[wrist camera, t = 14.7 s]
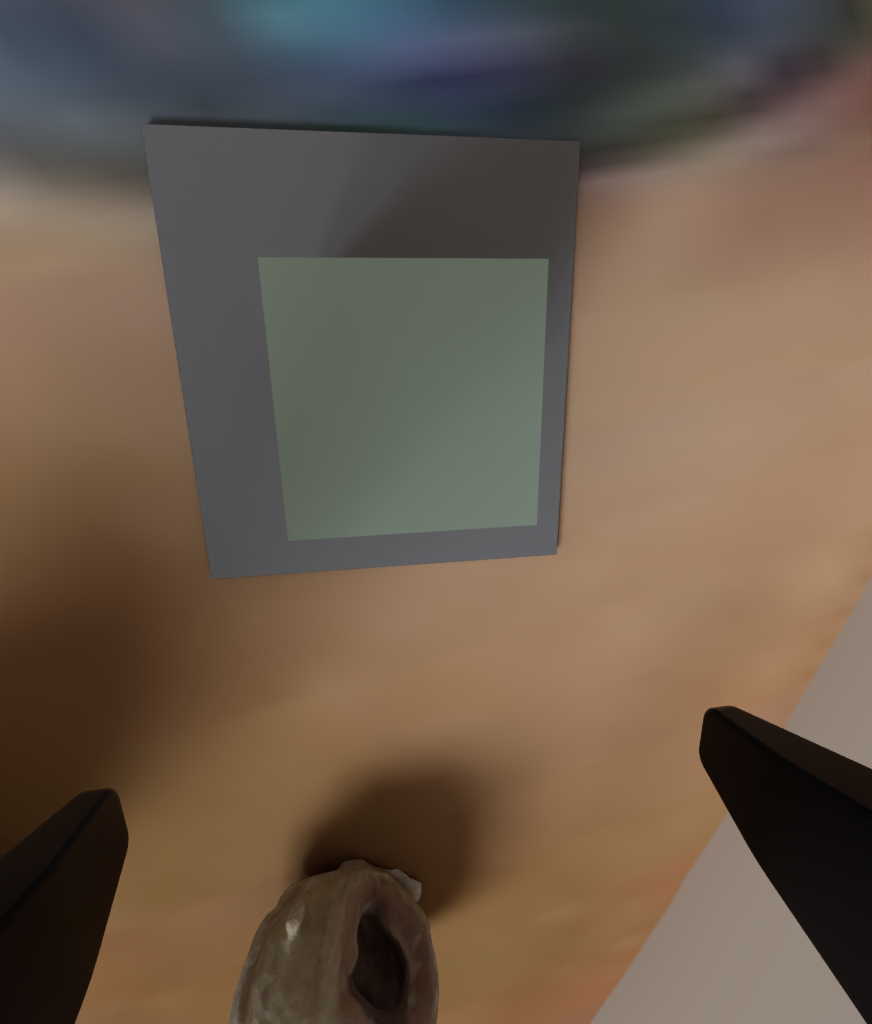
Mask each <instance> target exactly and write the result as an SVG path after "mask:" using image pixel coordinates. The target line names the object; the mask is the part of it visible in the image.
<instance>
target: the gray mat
mask: <svg viewBox="0 0 872 1024" xmlns="http://www.w3.org/2000/svg"><path fill="white" fill-rule="evenodd" d="M141 127H142V134H143V140H144V147H145V153H146V159H147V166H148V172H149V179H150V185H151V192H152V198H153V205H154V211H155V218H156V224H157V230H158V237H159V243H160V250H161V256H162V263H163V269H164V276H165V282H166V289H167V295H168V301H169V308H170V314H171V321H172V327H173V334H174V340H175V347H176V353H177V360H178V366H179V372H180V379H181V385H182V392H183V398H184V405H185V411H186V418H187V424H188V431H189V437H190V443H191V450H192V456H193V463H194V469H195V476H196V482H197V489H198V495H199V501H200V508H201V514H202V521H203V527H204V534H205V540H206V547H207V553H208V560H209V566H210V572H211V579H219V578H233V577H247V576H261V575H275V574H289V573H303V572H317V571H331V570H345V569H359V568H373V567H387V566H401V565H415V564H430V563H444V562H458V561H472V560H486V559H500V558H514V557H528V556H542V555H556V554H557V537H558V520H559V503H560V486H561V468H562V451H563V434H564V417H565V400H566V382H567V365H568V348H569V331H570V314H571V296H572V279H573V262H574V245H575V228H576V210H577V193H578V176H579V159H580V142H581V141H565V140H539V139H513V138H487V137H462V136H436V135H410V134H384V133H358V132H333V131H307V130H281V129H255V128H229V127H203V126H178V125H152V124H141ZM258 257H307V258H484V259H549V262H548V284H547V307H546V330H545V352H544V375H543V398H542V421H541V443H540V466H539V489H538V512H537V525H528V526H512V527H497V528H481V529H465V530H450V531H434V532H419V533H403V534H388V535H372V536H357V537H341V538H326V539H310V540H295V541H288V536H287V527H286V518H285V508H284V499H283V489H282V480H281V471H280V461H279V452H278V443H277V433H276V424H275V414H274V405H273V396H272V386H271V377H270V367H269V358H268V349H267V339H266V330H265V320H264V311H263V302H262V292H261V283H260V274H259V264H258Z"/></svg>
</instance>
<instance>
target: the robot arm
mask: <svg viewBox="0 0 872 1024" xmlns="http://www.w3.org/2000/svg"><path fill="white" fill-rule="evenodd" d="M699 754H700V759H701V762H702V764H703V767H704V768H705V770H706V772H707V774H708V776H709V777H710V779H711V781H712V783H713V785H714V786H715V788H716V790H717V792H718V793H719V795H720V797H721V799H722V801H723V802H724V804H725V806H726V808H727V809H728V811H729V813H730V815H731V816H732V818H733V820H734V822H735V824H736V825H737V827H738V829H739V831H740V832H741V834H742V836H743V838H744V840H745V841H746V843H747V845H748V847H749V848H750V850H751V852H752V853H753V855H754V857H755V858H756V860H757V862H758V863H759V865H760V866H761V868H762V869H763V871H764V872H765V874H766V876H767V877H768V879H769V880H770V881H771V883H772V884H773V886H774V887H775V889H776V890H777V892H778V893H779V895H780V896H781V898H782V899H783V901H784V902H785V904H786V905H787V907H788V908H789V910H790V911H791V912H792V914H793V915H794V917H795V918H796V920H797V921H798V923H799V924H800V926H801V927H802V929H803V930H804V932H805V933H806V935H807V936H808V938H809V939H810V941H811V942H812V943H813V945H814V946H815V948H816V949H817V951H818V952H819V954H820V955H821V957H822V958H823V960H824V961H825V963H826V964H827V966H828V967H829V969H830V970H831V972H832V973H833V974H834V976H835V977H836V979H837V980H838V982H839V983H840V985H841V986H842V988H843V989H844V991H845V992H846V994H847V995H848V996H849V998H850V999H851V1001H852V1002H853V1004H854V1005H855V1007H856V1008H857V1010H858V1011H859V1013H860V1014H861V1016H862V1017H863V1019H864V1020H865V1022H866V1023H867V1024H872V769H870V768H868V767H866V766H864V765H862V764H859V763H857V762H855V761H853V760H851V759H848V758H846V757H844V756H842V755H840V754H838V753H835V752H833V751H831V750H829V749H826V748H824V747H822V746H820V745H818V744H815V743H813V742H811V741H809V740H807V739H804V738H802V737H800V736H798V735H796V734H794V733H791V732H789V731H787V730H785V729H783V728H780V727H778V726H776V725H774V724H772V723H769V722H767V721H765V720H763V719H761V718H759V717H756V716H754V715H752V714H750V713H748V712H745V711H743V710H741V709H739V708H737V707H734V706H722V707H714V708H710V709H708V710H707V711H706V712H705V714H704V718H703V725H702V732H701V739H700V745H699ZM128 839H129V837H128V829H127V825H126V822H125V818H124V814H123V810H122V806H121V803H120V799H119V796H118V793H117V792H116V791H115V790H114V789H111V788H106V789H99V790H91V791H86V792H82V793H80V794H79V795H77V796H76V797H75V798H73V799H72V800H71V801H70V802H69V803H67V804H66V805H65V806H64V807H62V808H61V809H60V810H59V811H58V812H56V813H55V814H54V815H53V816H51V817H50V818H49V819H48V820H46V821H45V822H44V823H43V824H42V825H40V826H39V827H38V828H37V829H35V830H34V831H33V832H32V833H31V834H29V835H28V836H27V837H26V838H24V839H23V840H22V841H21V842H19V843H18V844H17V845H16V846H15V847H13V848H12V849H11V850H10V851H8V852H7V853H6V854H5V855H4V856H2V857H1V858H0V1024H75V1021H76V1019H77V1016H78V1013H79V1011H80V1008H81V1005H82V1003H83V1000H84V997H85V994H86V992H87V989H88V986H89V983H90V980H91V977H92V974H93V971H94V967H95V964H96V961H97V957H98V954H99V950H100V947H101V943H102V940H103V936H104V932H105V929H106V925H107V922H108V918H109V914H110V911H111V907H112V904H113V900H114V896H115V893H116V889H117V886H118V882H119V878H120V875H121V871H122V868H123V864H124V860H125V857H126V853H127V849H128Z"/></svg>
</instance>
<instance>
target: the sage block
mask: <svg viewBox="0 0 872 1024" xmlns="http://www.w3.org/2000/svg"><path fill="white" fill-rule="evenodd" d="M548 262H549V259H484V258H307V257H258V264H259V274H260V283H261V292H262V302H263V311H264V320H265V330H266V339H267V349H268V358H269V367H270V377H271V386H272V396H273V405H274V414H275V424H276V433H277V443H278V452H279V461H280V471H281V480H282V489H283V499H284V508H285V518H286V527H287V536H288V541H295V540H310V539H326V538H341V537H357V536H372V535H388V534H403V533H419V532H434V531H450V530H465V529H481V528H497V527H512V526H528V525H537V512H538V489H539V466H540V443H541V421H542V398H543V375H544V352H545V330H546V307H547V284H548Z"/></svg>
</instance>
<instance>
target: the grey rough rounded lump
mask: <svg viewBox="0 0 872 1024" xmlns="http://www.w3.org/2000/svg"><path fill="white" fill-rule="evenodd" d="M420 896H421V883H420V882H418V881H416V880H414V879H411V878H409V877H408V876H407V875H406V874H405V873H404V872H402V871H401V870H399V869H394V870H388V869H383V868H380V867H376V866H373V865H371V864H369V863H367V862H366V861H364V860H363V859H356V860H349V861H344V862H343V863H341V865H340V866H339V868H338V869H337V870H335V871H331V872H328V873H323V874H318V875H314V876H312V877H309V878H305V879H303V880H300V881H297V882H295V883H293V884H292V885H290V886H289V887H288V888H287V889H286V891H285V892H284V893H283V894H282V895H281V897H280V899H279V902H278V904H277V906H276V908H274V909H273V910H272V911H271V912H270V913H268V914H267V915H266V917H265V918H264V920H263V921H262V923H261V925H260V926H259V928H258V930H257V932H256V934H255V937H254V939H253V941H252V944H251V947H250V950H249V953H248V956H247V959H246V961H245V964H244V966H243V969H242V972H241V975H240V979H239V982H238V985H237V988H236V991H235V994H234V997H233V1001H232V1005H231V1012H230V1019H229V1024H436V1022H437V1013H438V1000H439V983H438V971H437V963H436V957H435V951H434V948H433V945H432V940H431V933H430V925H429V922H428V919H427V916H426V915H425V913H424V912H423V910H422V908H421V907H420V906H419V905H418V904H417V901H418V900H419V898H420Z"/></svg>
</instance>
